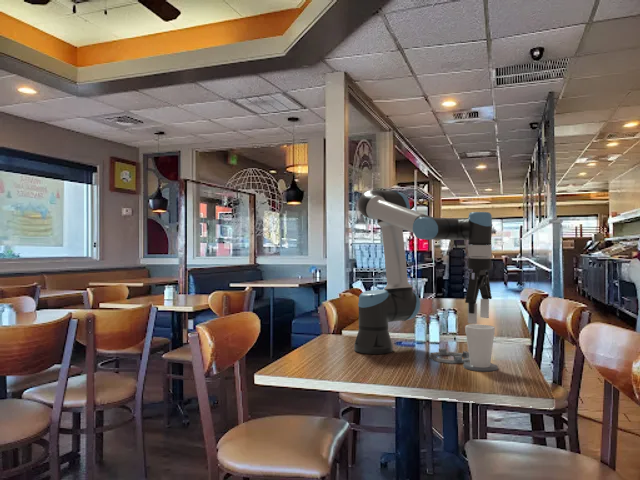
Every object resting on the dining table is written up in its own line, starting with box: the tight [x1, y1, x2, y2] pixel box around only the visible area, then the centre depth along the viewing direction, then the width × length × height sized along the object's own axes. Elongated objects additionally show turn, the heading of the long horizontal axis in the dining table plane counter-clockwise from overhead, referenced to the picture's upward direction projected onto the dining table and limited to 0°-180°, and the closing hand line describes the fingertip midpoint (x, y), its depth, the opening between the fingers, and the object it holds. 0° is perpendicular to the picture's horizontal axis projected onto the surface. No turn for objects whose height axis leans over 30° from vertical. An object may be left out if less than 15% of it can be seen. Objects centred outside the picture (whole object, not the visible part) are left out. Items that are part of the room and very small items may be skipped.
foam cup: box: [464, 323, 496, 368], centre depth 165 cm, size 10×9×13 cm
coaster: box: [462, 361, 499, 373], centre depth 164 cm, size 11×11×1 cm
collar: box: [428, 348, 470, 364], centre depth 178 cm, size 14×14×2 cm
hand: (478, 320), depth 165 cm, fingers open, 13 cm apart
